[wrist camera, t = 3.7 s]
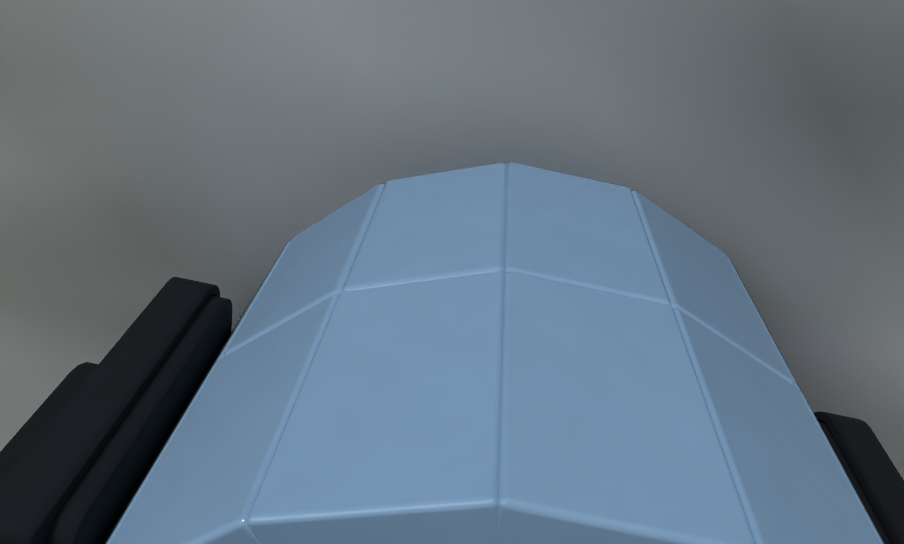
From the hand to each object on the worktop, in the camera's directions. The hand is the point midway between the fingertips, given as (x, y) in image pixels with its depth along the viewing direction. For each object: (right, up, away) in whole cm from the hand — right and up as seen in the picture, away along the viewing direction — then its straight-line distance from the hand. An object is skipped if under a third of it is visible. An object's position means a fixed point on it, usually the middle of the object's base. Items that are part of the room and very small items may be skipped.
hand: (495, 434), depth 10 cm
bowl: (0, +1, +1) cm, 1 cm away
